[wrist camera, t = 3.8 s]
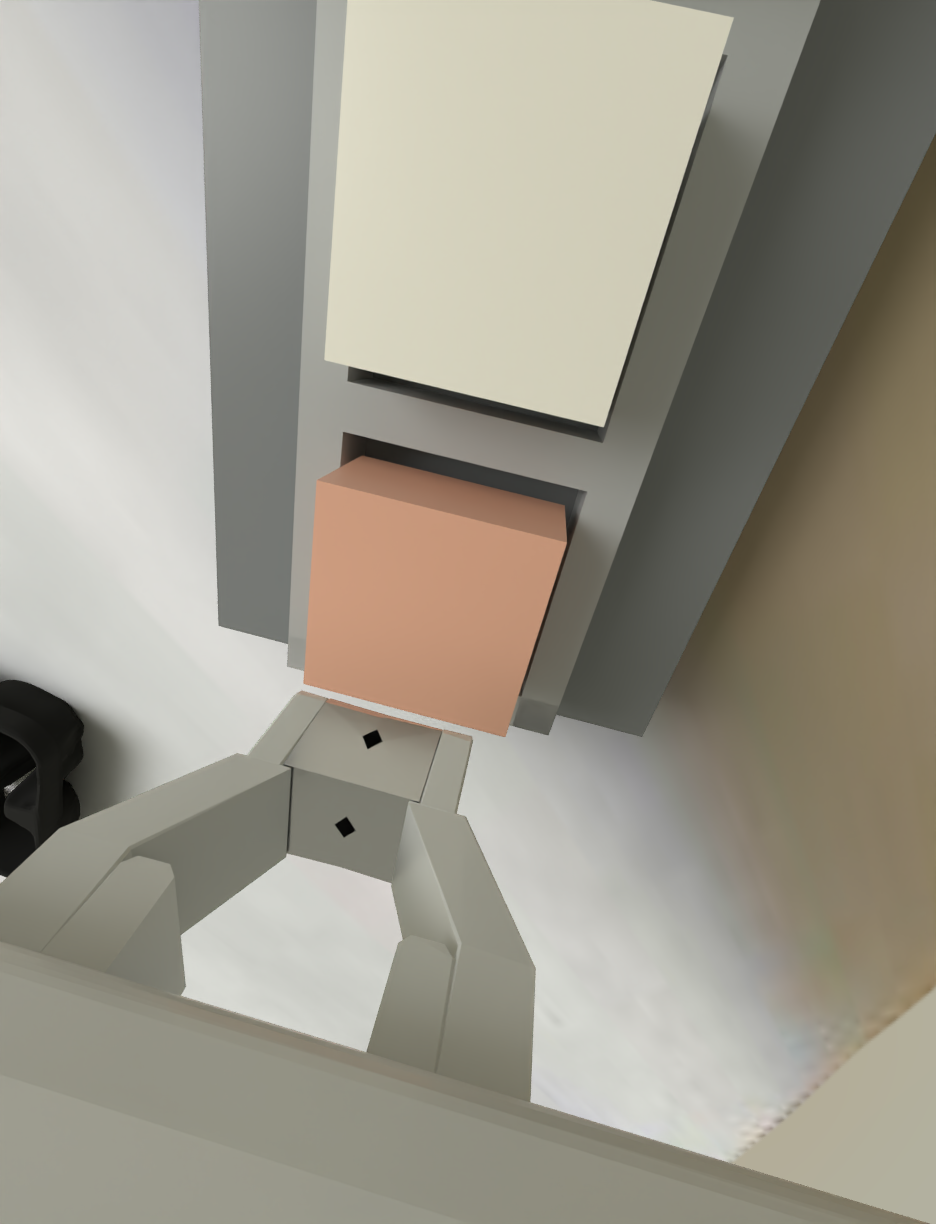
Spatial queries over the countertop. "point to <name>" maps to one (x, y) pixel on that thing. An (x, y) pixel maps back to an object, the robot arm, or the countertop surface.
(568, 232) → the cream key
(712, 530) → the keypad
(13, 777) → the egg carton
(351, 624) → the terracotta key
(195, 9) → the countertop surface
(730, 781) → the countertop surface
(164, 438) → the countertop surface
